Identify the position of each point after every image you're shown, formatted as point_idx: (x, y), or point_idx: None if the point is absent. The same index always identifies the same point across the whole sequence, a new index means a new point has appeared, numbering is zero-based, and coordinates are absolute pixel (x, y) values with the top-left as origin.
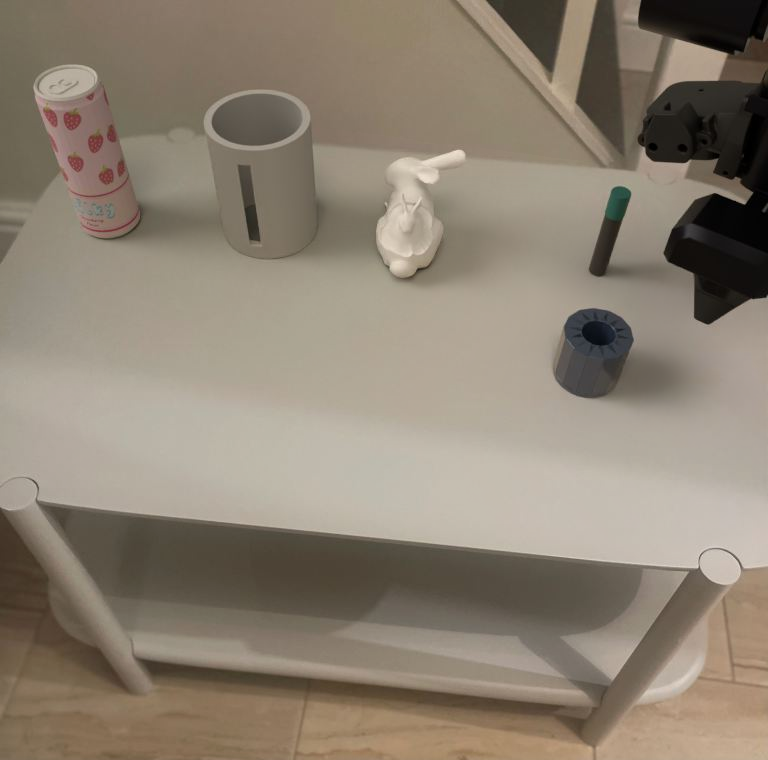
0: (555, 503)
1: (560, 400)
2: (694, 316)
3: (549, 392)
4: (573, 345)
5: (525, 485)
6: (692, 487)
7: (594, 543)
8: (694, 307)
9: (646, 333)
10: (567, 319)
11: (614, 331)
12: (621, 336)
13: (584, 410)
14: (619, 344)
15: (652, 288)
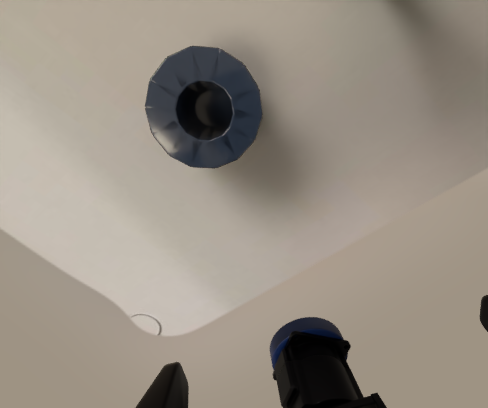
0: (50, 209)
1: None
2: (162, 370)
3: None
4: (148, 101)
5: (33, 175)
6: (185, 275)
7: (58, 259)
8: (137, 406)
9: (324, 119)
10: (183, 49)
11: (229, 126)
12: (228, 141)
13: None
14: (211, 151)
15: (405, 69)
